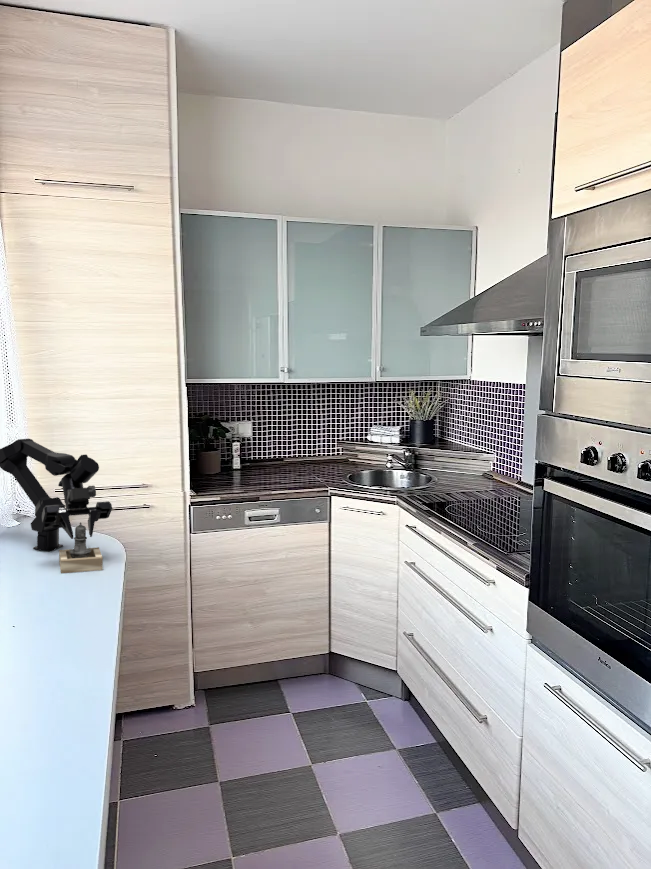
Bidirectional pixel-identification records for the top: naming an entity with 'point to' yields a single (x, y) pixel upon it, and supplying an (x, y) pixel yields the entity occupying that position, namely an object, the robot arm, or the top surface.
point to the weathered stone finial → (80, 543)
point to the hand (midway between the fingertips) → (81, 537)
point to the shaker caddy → (80, 561)
